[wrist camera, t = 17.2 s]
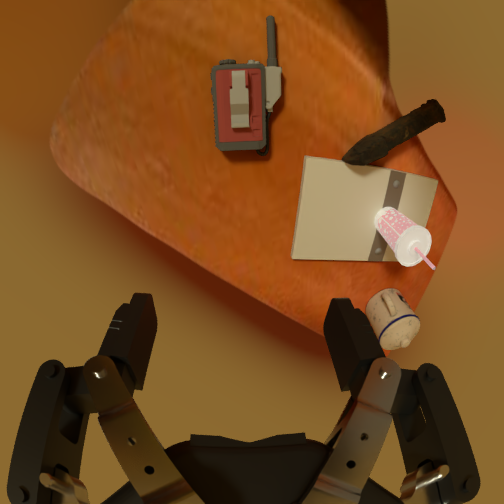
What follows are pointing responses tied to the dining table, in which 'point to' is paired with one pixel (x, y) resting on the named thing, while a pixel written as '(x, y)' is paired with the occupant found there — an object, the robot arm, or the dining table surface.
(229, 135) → the walkie-talkie
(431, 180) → the floor panel
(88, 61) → the dining table surface
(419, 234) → the beverage cup
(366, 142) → the hand tool
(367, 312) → the teacup with lid
